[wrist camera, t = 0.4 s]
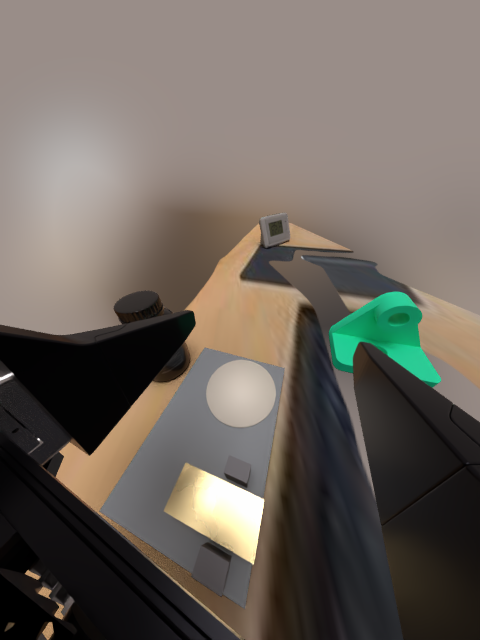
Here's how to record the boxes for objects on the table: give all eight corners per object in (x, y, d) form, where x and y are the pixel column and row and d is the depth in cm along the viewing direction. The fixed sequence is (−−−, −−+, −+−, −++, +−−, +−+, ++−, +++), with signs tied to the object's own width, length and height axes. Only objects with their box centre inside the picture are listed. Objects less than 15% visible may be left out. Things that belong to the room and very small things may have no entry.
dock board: (244, 604, 12) (244, 627, 9) (105, 511, 15) (76, 509, 13) (283, 372, 25) (287, 355, 23) (205, 351, 29) (201, 334, 26)
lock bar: (253, 558, 12) (253, 564, 11) (172, 512, 14) (163, 511, 13) (262, 502, 15) (264, 499, 13) (191, 467, 16) (185, 462, 15)
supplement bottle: (192, 344, 30) (173, 283, 22) (188, 379, 25) (162, 315, 17) (152, 349, 29) (117, 288, 22) (139, 386, 24) (89, 323, 16)
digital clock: (264, 250, 67) (266, 219, 60) (252, 244, 73) (252, 215, 67) (295, 242, 73) (300, 214, 66) (281, 238, 79) (284, 211, 72)
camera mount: (331, 373, 25) (360, 320, 18) (326, 337, 31) (348, 286, 24) (430, 395, 22) (507, 341, 16) (405, 351, 28) (455, 297, 21)
